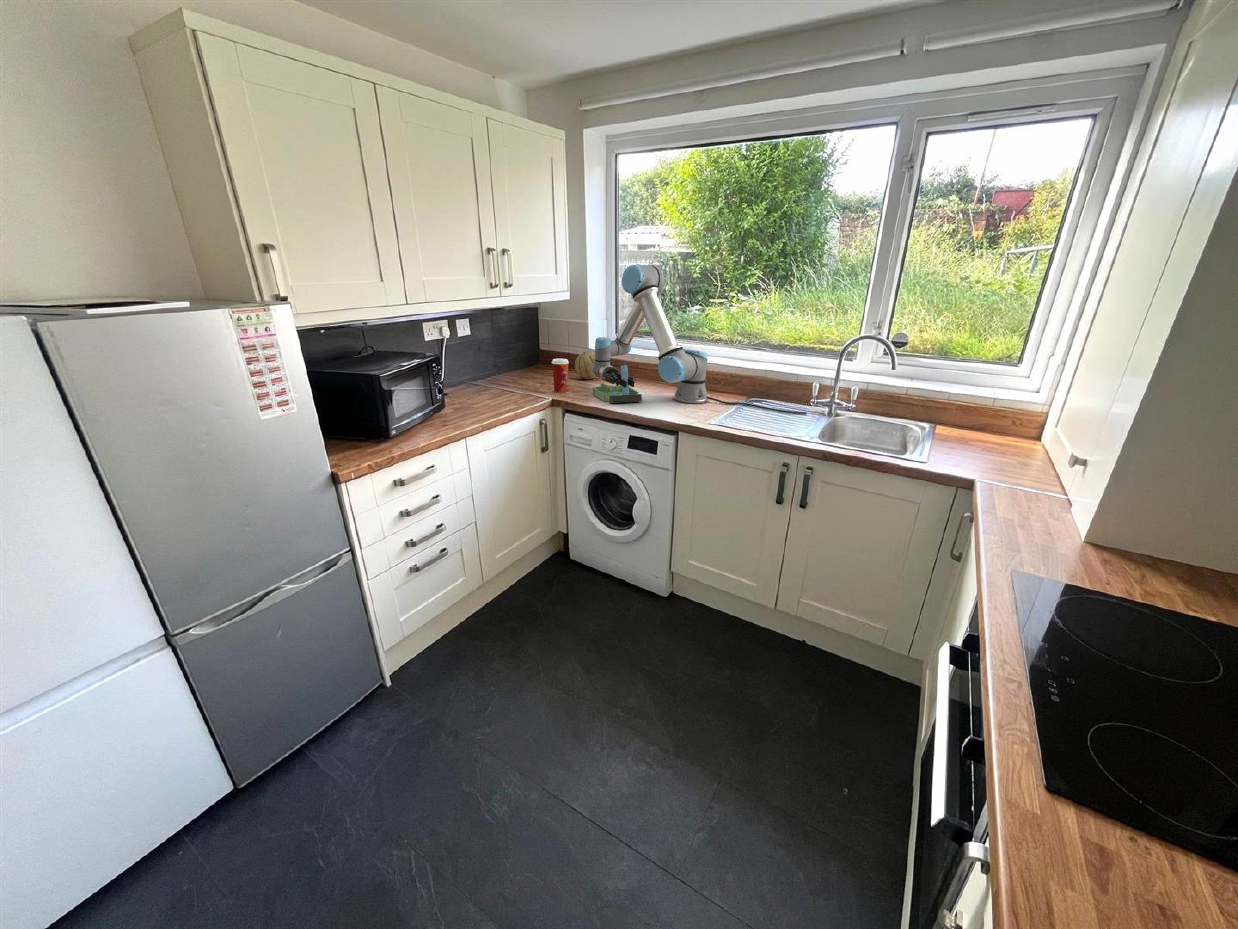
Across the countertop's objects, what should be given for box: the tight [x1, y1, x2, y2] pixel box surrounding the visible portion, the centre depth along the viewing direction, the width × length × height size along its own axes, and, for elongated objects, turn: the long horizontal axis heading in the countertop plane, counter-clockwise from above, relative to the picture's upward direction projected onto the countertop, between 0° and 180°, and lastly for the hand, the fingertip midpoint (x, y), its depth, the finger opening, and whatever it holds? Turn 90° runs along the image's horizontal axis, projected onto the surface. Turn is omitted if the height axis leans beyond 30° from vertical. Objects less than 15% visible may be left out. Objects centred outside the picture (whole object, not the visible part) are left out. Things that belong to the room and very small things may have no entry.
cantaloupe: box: [574, 351, 598, 380], centre depth 267 cm, size 15×15×15 cm
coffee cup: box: [551, 358, 570, 393], centre depth 239 cm, size 8×8×15 cm
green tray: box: [592, 382, 639, 402], centre depth 238 cm, size 25×17×3 cm
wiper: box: [609, 364, 643, 404], centre depth 222 cm, size 4×14×16 cm, turn 113°
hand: (629, 384), depth 218 cm, fingers closed on wiper, 3 cm apart
